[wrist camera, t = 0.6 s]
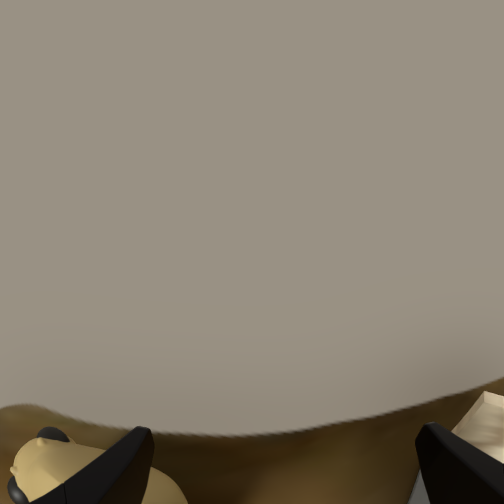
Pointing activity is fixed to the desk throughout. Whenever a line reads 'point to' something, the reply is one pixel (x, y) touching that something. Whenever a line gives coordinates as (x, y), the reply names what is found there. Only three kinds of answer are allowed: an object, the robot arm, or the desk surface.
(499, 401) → the fixed fence panel
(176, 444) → the desk surface
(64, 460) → the cream rounded piece
